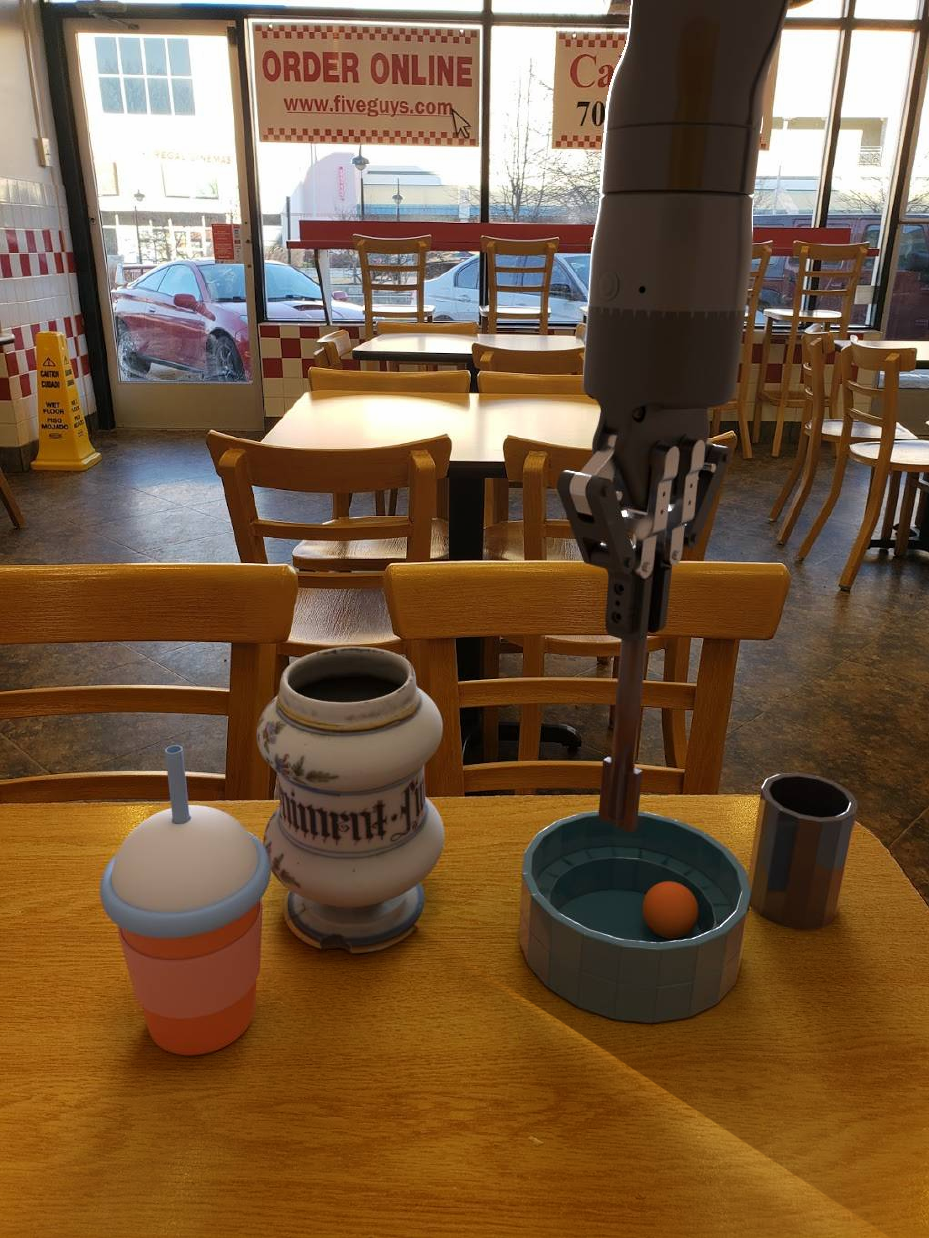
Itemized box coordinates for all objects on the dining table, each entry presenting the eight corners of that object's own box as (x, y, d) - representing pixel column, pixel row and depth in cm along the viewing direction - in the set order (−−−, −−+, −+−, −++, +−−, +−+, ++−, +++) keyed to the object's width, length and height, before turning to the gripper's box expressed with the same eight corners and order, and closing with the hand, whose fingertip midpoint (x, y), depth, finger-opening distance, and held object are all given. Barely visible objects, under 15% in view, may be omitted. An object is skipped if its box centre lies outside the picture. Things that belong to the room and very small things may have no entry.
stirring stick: (607, 811, 57) (630, 537, 51) (640, 827, 56) (669, 546, 50) (593, 820, 56) (616, 542, 50) (627, 836, 55) (655, 552, 49)
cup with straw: (305, 978, 59) (291, 722, 52) (234, 1095, 51) (206, 809, 44) (176, 950, 61) (146, 700, 54) (88, 1057, 53) (41, 779, 46)
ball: (658, 906, 65) (663, 863, 64) (705, 931, 63) (711, 886, 61) (629, 932, 62) (634, 887, 61) (677, 958, 60) (683, 912, 59)
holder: (768, 868, 70) (785, 763, 67) (849, 905, 66) (872, 795, 63) (729, 906, 66) (745, 796, 63) (814, 948, 62) (836, 832, 59)
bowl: (599, 855, 71) (605, 787, 69) (776, 944, 62) (789, 869, 60) (474, 949, 61) (476, 873, 59) (663, 1070, 53) (673, 986, 50)
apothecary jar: (247, 961, 60) (225, 709, 53) (291, 850, 71) (277, 630, 65) (435, 972, 59) (437, 719, 53) (450, 858, 71) (452, 637, 64)
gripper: (657, 308, 38) (623, 692, 45) (801, 300, 48) (756, 618, 54) (516, 299, 43) (503, 648, 49) (672, 294, 52) (644, 587, 59)
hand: (635, 631), depth 52 cm, fingers closed on stirring stick, 1 cm apart
